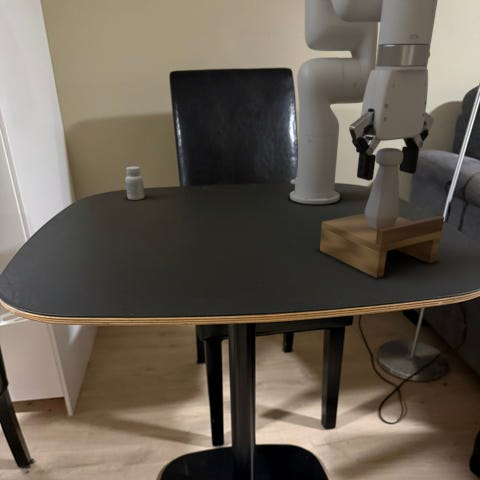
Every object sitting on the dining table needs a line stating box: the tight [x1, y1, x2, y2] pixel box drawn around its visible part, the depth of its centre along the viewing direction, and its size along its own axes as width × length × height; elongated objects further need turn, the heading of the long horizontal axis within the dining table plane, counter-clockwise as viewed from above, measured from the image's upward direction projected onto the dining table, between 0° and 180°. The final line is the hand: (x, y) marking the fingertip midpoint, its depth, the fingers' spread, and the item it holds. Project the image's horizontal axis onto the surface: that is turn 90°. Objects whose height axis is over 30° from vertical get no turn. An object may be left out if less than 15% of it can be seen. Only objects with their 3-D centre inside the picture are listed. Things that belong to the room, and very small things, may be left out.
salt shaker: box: [364, 147, 403, 229], centre depth 81 cm, size 6×6×13 cm
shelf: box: [319, 212, 445, 279], centre depth 85 cm, size 15×14×8 cm
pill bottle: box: [124, 165, 145, 201], centre depth 123 cm, size 4×4×8 cm
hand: (386, 175), depth 80 cm, fingers open, 9 cm apart
